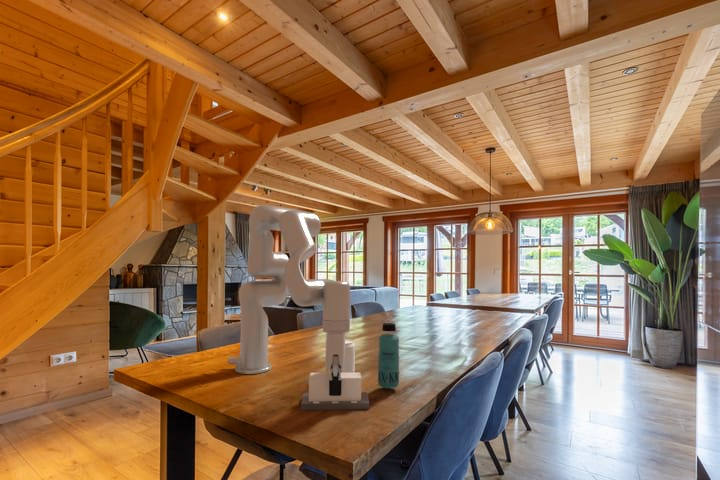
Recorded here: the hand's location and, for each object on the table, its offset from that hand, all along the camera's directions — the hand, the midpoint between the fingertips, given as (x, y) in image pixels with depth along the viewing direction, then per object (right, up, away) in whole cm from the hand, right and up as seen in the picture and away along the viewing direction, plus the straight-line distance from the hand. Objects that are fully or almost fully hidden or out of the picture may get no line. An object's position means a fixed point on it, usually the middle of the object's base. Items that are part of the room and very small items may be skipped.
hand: (335, 388), depth 97 cm
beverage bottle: (+15, -5, +11) cm, 19 cm away
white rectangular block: (0, -2, 0) cm, 2 cm away
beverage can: (+1, -6, +22) cm, 22 cm away
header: (0, -4, 0) cm, 4 cm away
